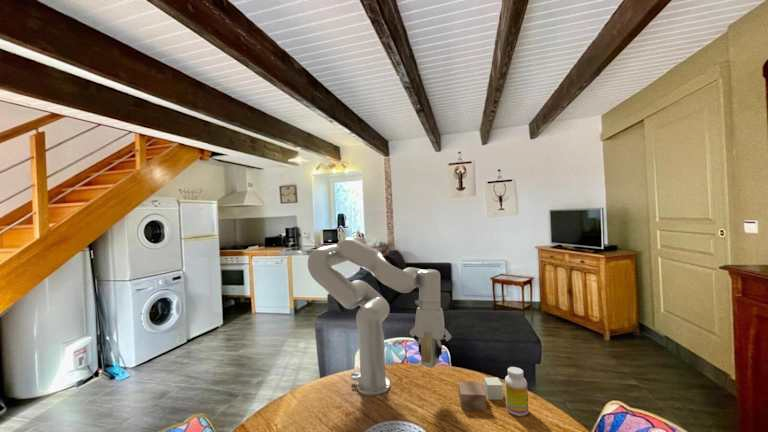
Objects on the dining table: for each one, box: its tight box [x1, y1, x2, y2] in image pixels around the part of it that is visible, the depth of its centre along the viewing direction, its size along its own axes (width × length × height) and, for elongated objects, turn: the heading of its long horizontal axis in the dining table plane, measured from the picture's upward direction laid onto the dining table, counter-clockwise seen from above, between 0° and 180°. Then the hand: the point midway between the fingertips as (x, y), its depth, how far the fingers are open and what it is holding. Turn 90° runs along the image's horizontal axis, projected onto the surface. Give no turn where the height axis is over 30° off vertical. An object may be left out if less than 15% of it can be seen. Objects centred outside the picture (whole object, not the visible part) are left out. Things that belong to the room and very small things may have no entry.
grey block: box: [483, 376, 504, 401], centre depth 108 cm, size 5×5×5 cm
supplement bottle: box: [504, 366, 529, 417], centre depth 99 cm, size 7×7×13 cm
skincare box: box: [420, 332, 440, 369], centre depth 110 cm, size 6×4×12 cm
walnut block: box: [457, 381, 488, 411], centre depth 104 cm, size 8×8×5 cm
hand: (430, 355), depth 110 cm, fingers closed on skincare box, 5 cm apart
